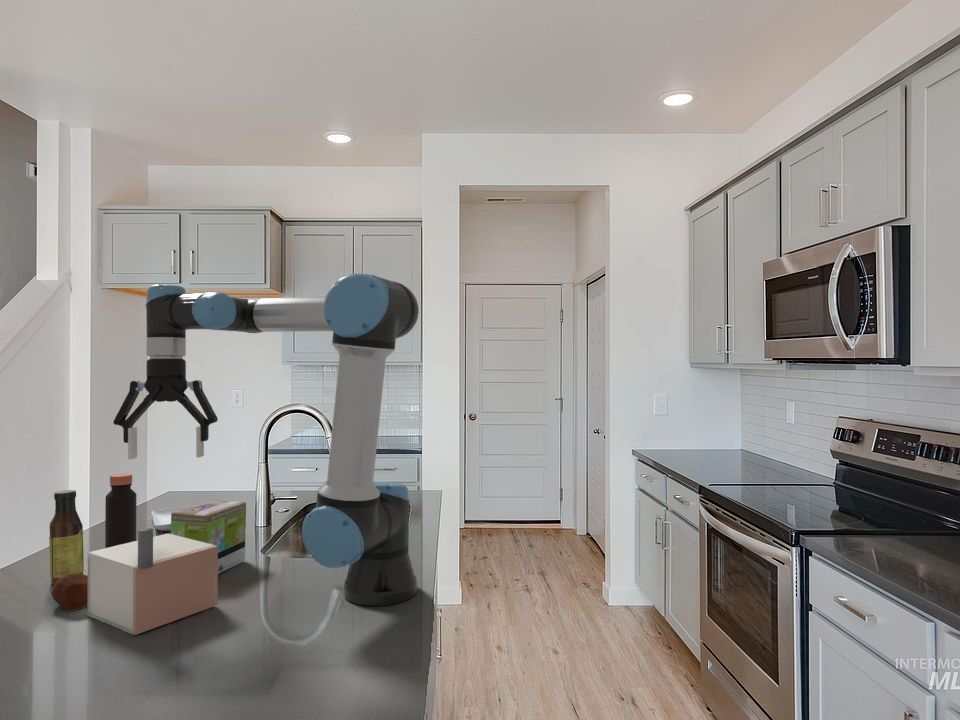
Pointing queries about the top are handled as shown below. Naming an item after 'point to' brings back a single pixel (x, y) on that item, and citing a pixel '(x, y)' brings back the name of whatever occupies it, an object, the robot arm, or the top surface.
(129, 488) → the vinegar
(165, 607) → the side door
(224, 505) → the tea box
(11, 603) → the top surface
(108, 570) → the case
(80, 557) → the sauce bottle
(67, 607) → the potato
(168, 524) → the salad plate
